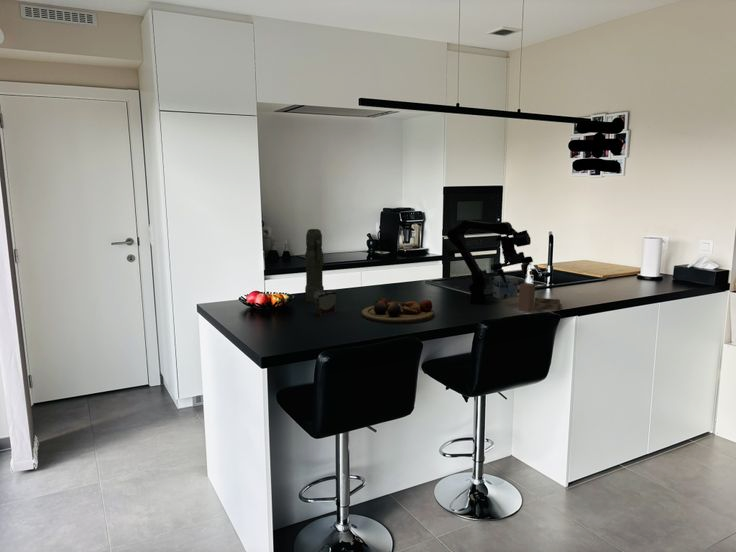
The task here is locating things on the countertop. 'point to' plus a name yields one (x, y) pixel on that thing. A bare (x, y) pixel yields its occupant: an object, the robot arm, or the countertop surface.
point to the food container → (325, 302)
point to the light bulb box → (505, 287)
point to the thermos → (313, 264)
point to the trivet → (524, 311)
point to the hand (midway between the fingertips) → (515, 281)
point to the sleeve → (547, 304)
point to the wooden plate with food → (398, 311)
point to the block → (526, 297)
